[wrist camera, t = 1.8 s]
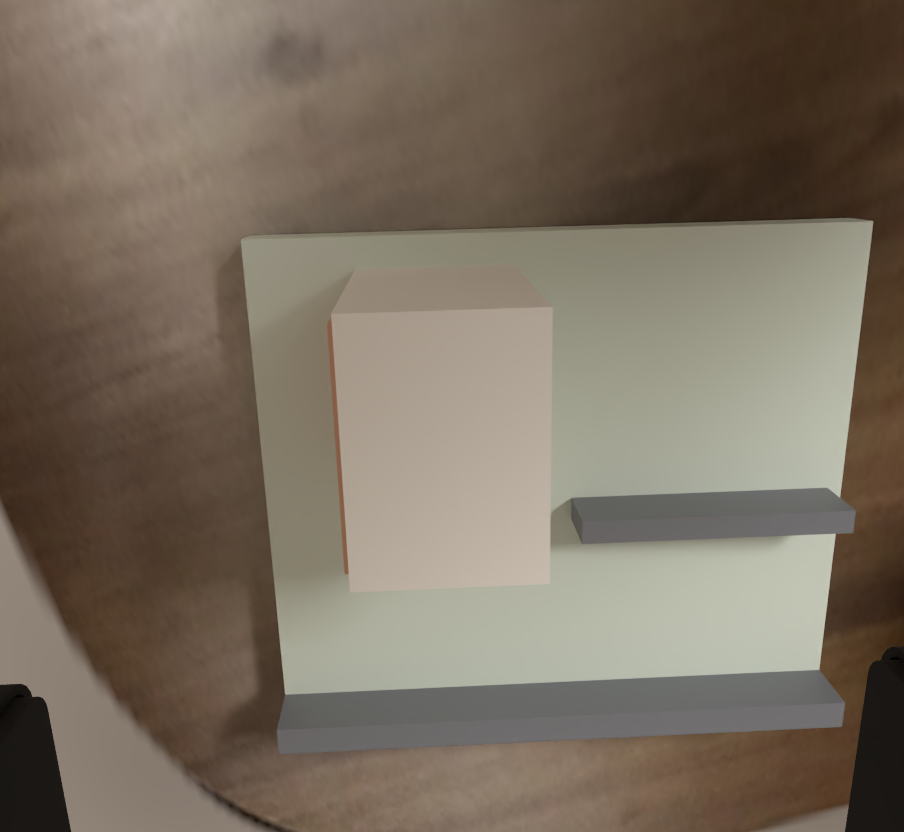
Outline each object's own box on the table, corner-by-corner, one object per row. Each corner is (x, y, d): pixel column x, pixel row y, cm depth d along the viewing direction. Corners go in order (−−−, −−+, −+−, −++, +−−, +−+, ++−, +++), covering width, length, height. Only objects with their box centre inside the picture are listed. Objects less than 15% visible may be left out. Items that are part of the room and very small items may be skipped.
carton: (513, 263, 27) (552, 306, 19) (513, 470, 29) (549, 584, 21) (349, 268, 26) (322, 314, 19) (362, 476, 29) (342, 593, 21)
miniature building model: (850, 217, 28) (908, 226, 25) (797, 680, 33) (840, 738, 30) (249, 235, 27) (226, 246, 24) (294, 704, 33) (280, 766, 29)
